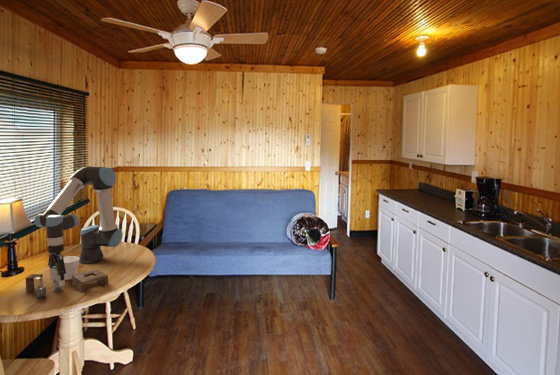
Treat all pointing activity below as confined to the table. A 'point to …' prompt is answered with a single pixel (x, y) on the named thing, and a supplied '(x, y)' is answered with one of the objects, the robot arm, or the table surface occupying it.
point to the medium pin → (38, 283)
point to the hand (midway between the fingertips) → (57, 282)
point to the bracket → (89, 279)
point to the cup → (71, 266)
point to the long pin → (56, 279)
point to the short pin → (41, 293)
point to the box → (31, 281)
